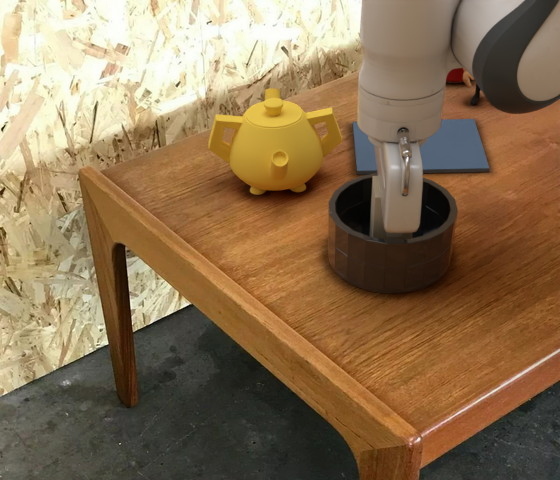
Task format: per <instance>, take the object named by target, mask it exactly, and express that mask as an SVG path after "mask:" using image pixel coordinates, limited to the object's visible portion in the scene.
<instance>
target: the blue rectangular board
mask: <svg viewBox="0 0 560 480" xmlns="http://www.w3.org/2000/svg"><path fill="white" fill-rule="evenodd" d="M352 133H353V144H354V156H355V158H354V159H355V169H356V175H369V174H374V173H377V165H376V157H375V149H374V145H373V144H372V143H371V142H370V140H369V138H368V135H366V134H365V133H364V132H362V131H361V130H360V128H359V127H358V124H357V120H356V121H352ZM419 149H420V154H421V159H422V167H423V174H449V173H450V174H451V173H490V165H489V162H488V158H487V155H486V153H485V149H484V146H483V143H482V140H481V136H480V133H479V130H478V127H477V123H476V120H475V118H452V119H451V118H448V119H446V118H445V119H442V120H441V126H440V128H439V129H438V131H437V132H436V133H434V134H433V135H432V136H430V137H428V138H427V141H426V142H425V143H424V144H423V145H422V146H420V147H419Z"/></svg>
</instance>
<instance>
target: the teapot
mask: <svg viewBox="0 0 560 480" xmlns="http://www.w3.org/2000/svg"><path fill="white" fill-rule="evenodd" d="M320 123H325V127H326V131H327V133H326V134H325V135H323V136H322V137H320V133H319V132H318V130H317V128H316V126H315V125H318V124H320ZM225 129H231V130H233V133H232V135H231V139H230V143H228V142H227V141H225V140H224V139H223V137H224V133H225ZM342 143H343V134H342V131H341V129H340V126H339V123H338V120H337V117H336V114H335V111H334V109H333V107H327V108H322V109H318V110H312V111H307V112H306V111H304V109H302V107H301V106H300V105H299V104H297V103H294V102H292V101H287V100H284V99H282V98H281V89H279V88H274V87H271V88H266V89H264V100H263V101H260V102H257V103H255V104H252V105H251V106H250V107H248V108H247V110H246V111H245V112H244V113H243V115H242V116H240V115H229V114H228V115H227V114H217V113H216V114H214V118H213V122H212V126H211V130H210V134H209V138H208V142H207V147H208V151H210V152H211V153H213V154H215V155H216V156H217V157H218V158H220V159H222V160H223V161H224V162H226V163H227V164H228V165H229V167H230V169H231V171H232V173H233V174H234V175H235V176H236V177H237V178H238V179H240V180H241V181H242V182H244V184H246V185H248V186H250V188H249V192H250V193H251V194H253V195H256V196H257V195H262V194H265V193H266V192H267V191H284V190H290V191H291V192H294V193H301V192H304V191H306V189H307V185H306V184H305V183H307V182H308V181H310V179H312V177H313V176H315V175H316V174H317V173H318V172H319V170H320V169H321V168H322V165H323V162H324V159H325V157H327V156H328V155H329V154H330V153H331V152H332V151H333V150H334V149H335V148H337V147H338V146H340V145H341V144H342Z"/></svg>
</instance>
